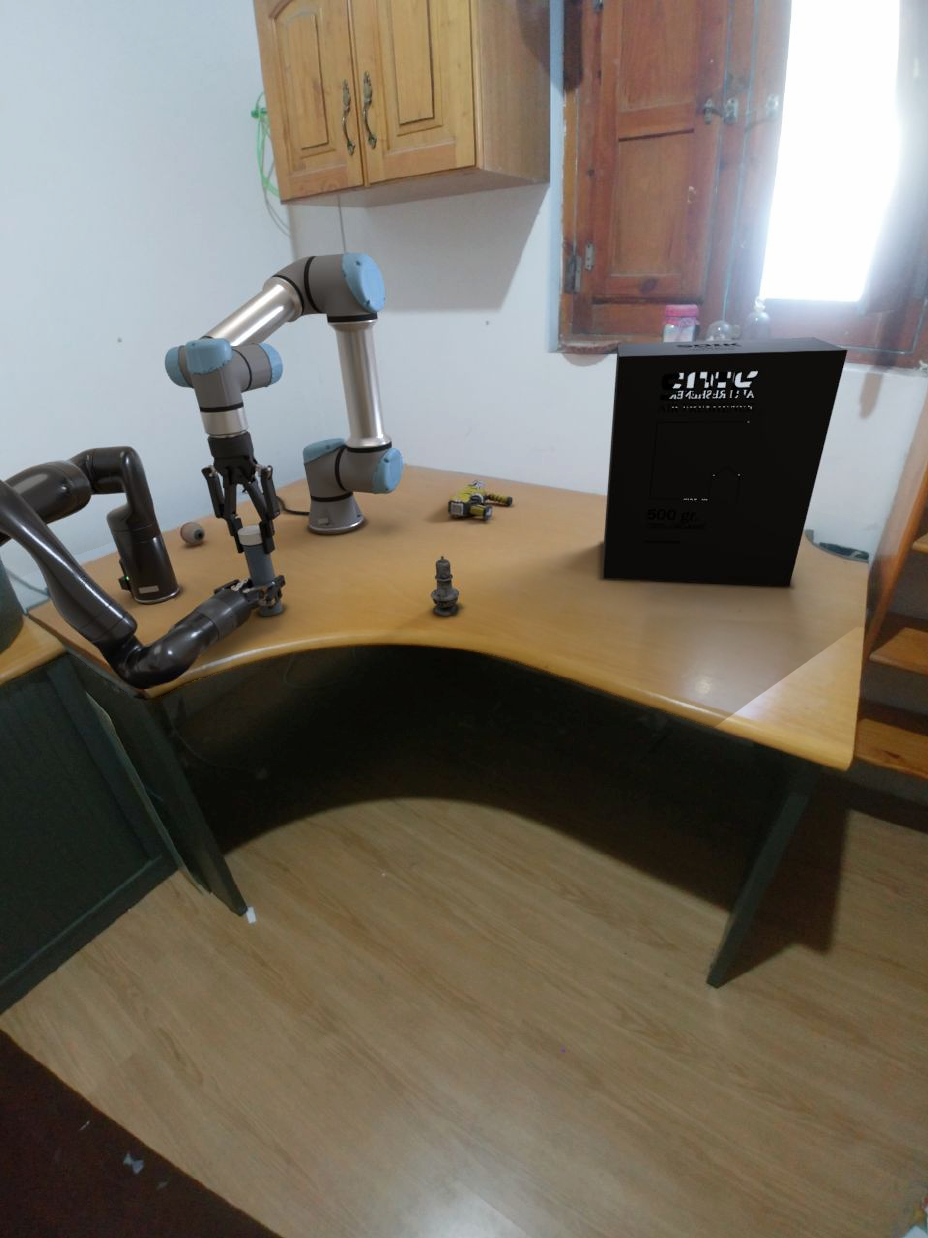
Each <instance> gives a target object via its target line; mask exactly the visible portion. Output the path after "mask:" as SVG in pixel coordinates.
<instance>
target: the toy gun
mask: <svg viewBox="0 0 928 1238" xmlns="http://www.w3.org/2000/svg"><path fill="white" fill-rule="evenodd" d="M485 485H486V483H485V480H480V481H479V479H475V480H474V481H472V483H470V484H467V486H465V487H464V488H463V489H462V490H461V491H459V492H458V493H456V494H455V495H454V496H453V497H452V498H451V499H450V500H448V502H447V513H448V514H449V515H451V516H452V517H456V518H458V517H467V516H472V515H473V516H479V517H482V520H484V521H486V520H487V519H489V518H491V517H492V516H493V515H492V514H493V505H492V504H488V505H486V503H485V502H486V501H488V500H489V501H490V502H494V503H496V502H497V503H499V504H504V505H507V506H508V507H509V506H512V505H513V502H514V501H513V500H514V498H513V497H512V496H508V495H507V496H506V495H502V494H498V493H494V492H490V493H489V494H487V492H486V490H485V488H483V487H484V486H485Z"/></svg>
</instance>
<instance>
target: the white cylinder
mask: <svg viewBox="0 0 928 1238" xmlns="http://www.w3.org/2000/svg"><path fill="white" fill-rule="evenodd" d="M238 536H239V540H240V543H241V544H243V545H256V544H260V543H262V542H263V541H262V537H261V533H260V529H259V524H253V525H247V526H243V528H241V529H240V530H239V531H238Z"/></svg>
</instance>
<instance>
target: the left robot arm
mask: <svg viewBox="0 0 928 1238" xmlns="http://www.w3.org/2000/svg"><path fill="white" fill-rule="evenodd" d="M116 494H117V495H118V494H125V499H126V502H125V503H124V504H122V505H120V506H117V507H115V508H113V509H112V510H110V511H109V512H108V513H107V514H106V516H105V518H106V523H107V526H108V528H109V531H110V533H111V537H112V539H113V542H114V544H115V547H116V549H117V553H118V556H119V559H118V564H119V567H120V569H121V572H122V576H121V577H119V578H117V580H118V581H117V582H118V583H119V586H120V589H121V590H123V591H128V592H129V593H130V596H131V599H133V600H135V602H136V603H138V604H141V605H142V604H143V605H152V604H158V603H163V602H166V601H168V600H170V599H172V598H174V597H175V596H177V595H178V594H179V593H180V591H181V588H180V585H179V583H178V580H177V577H176V574H175V571H174V568H173V567H174V566H173V565H172V561H171V558H170V555H169V552H168V549H167V547H166V542H165V540H164V537H163V534H162V531H161V528H160V525H159V522H158V519H157V516H156V512H155V505H154V500H153V497H152V494H151V490H150V487H149V483H148V479H147V474H146V470H145V467H144V464H143V462H142V459H141V457H140V455H139V453H138V452H137V450H135V448H133V447H132V446H129V445H118V446H104V447H92V448H89V449H88V448H87V449H85V450H83V451H81V452H79V453H77V454H76V455H74V456H72V457H70V458H68V459H65V460H60V459H59V460H53V461H48V462H43V463H39V464H36V465H33V466H29V467H27V468H24V469H23V470H21V471H19V472H18V473H15V474H13V475H12V476H10V477H8V478H7V479H5V480H2V479H1V478H0V548H2V547H3V546H4V545H6V544H7V543H8V542H10V541H11V540H14V541H15V542H16V543H18V544H19V546H21V547H22V548H23V549H24V550H25V551H26V552H27V553H28V554H29V555H30V556H31V558H32V559H33V560H34V562H35V564H36V565H37V567H38V569H39V570H40V573H41V575H42V577H43V579H44V582H45V584H46V588H47V590H48V593H49V596H50V599H51V601H52V604H53V605H54V607H55V608H54V609H56V611H57V613H58V614H59V616H60V617H61V618H62V620H63V621H64V622H65V623H66V624H68V625H69V626H70V627H71V628H72V629H73V630H74V631H75V632H76V633H78V634H79V635H81V636H82V637H83V638H84V639H85V640H86V641H88V642H89V644H91V645H92V646H94V647H95V648H96V649H98V651H99V653H100V655H101V656H102V657H103V659H104V660H105V661H106V663H107V664H108V665H109V666H110V668H111V669H112V670H113V672H114V673H115V674H116V676H117V677H118V678H119V679H120V680H121V681H123V683H125V684H127V685H128V686H130V687H132V688H134V689H137V690H143V691H144V690H145V691H146V690H151V689H154V688H157V687H160V686H162V685H165V684H168V683H171V682H173V681H175V680H177V679H178V678H180V677H181V676H183V675H184V674H186V672H187V671H188V670H189V669H190V668H191V667H192V666H193V665H194V664H195V663H196V662H197V660H198V659H199V657H200V656H202V655H203V654H205V653H206V652H207V651H209V650H210V649H211V648H213V647H214V646H215V645H216V644H218V643H219V642H222V641H223V640H225V639H226V638H227V637H229V636H230V635H231V634H232V633H234V632H235V631H236V630H238V629H239V628H240V627H241V626H243V625H244V624H245V623H246V622H247V621H249V619H250V617H251V614H252V612H253V611H254V610H257V609H258V608H259V607H260V606H267V607H268V609H273V608H274V607H275V606H276V604H277V603H278V602H279V600H280V599H281V600H282V598H283V591H282V588H283V587H285V586H286V585H287V583H286V579H285V575H284V574H279V575H278V576H275V577H276V578H275V579H274V580H272V581H271V582H270V583H268V584H266V585H261V584H260V585H258V586H256V587H253V586H252V582H251V578H250V577H248V578H244V579H243V578H242V580H240V579H237V578H236V579H233V580H231V581H229V582H226V583H225V584H223V585H221V586H219V587H217V588H215V589H213V590H212V591H213V595H212V596H211V597H209V598H208V599H206V600H205V601H204V602H201V603H200V604H199V605H197V606H196V607H195V608H194V609H193V610H192V611H191V612H190V613H188V614H187V615H186V616H185V617H183V618H181V619H180V620H178V621H177V622H175V623H174V624H173V625H172V626H171V627H170V628H169V629H168V631H167V633H165V634H164V635H162V636H161V637H159V638H158V639H156V640H154V641H152V642H150V643H148V644H146V645H145V644H143V643H142V642H141V641H140V640H139V638H138V636H137V635H135V634H136V632H137V630H138V625H139V623H138V622H137V620H136V618H134V616H133V615H131V614H130V612H128V610H126V609H125V608H124V607H123V606H122V605H121V604H120V603H119V602H118V601H116V600H115V599H114V598H113V597H112V596H111V595H109V594H108V592H107V591H105V589H103V588H102V587H101V586H100V585H99V584H98V583H97V582H96V581H95V580H94V579H93V578H92V577H91V575H89V573H87V571H86V570H85V569H84V568H83V567H82V566H81V564H80V563H79V562H78V561H77V560H76V559H75V557H74V556H73V554H71V552H70V551H69V550H68V548H67V547H66V546H65V545H64V544H63V543H62V541H61V539H59V538H58V536H57V535H56V534H55V533H54V532H53V530H52V529H51V528H50V527H49V526H48V525H50V524H52V523H55V522H58V521H61V520H63V519H65V518H68V517H70V516H72V515H74V514H77V513H78V512H80V511H82V510H83V509H85V508H86V507H87V506H88V505H89V504H90V501H91V499H92V496H98V495H99V496H101V495H116ZM233 586H234V587H233ZM232 587H233V588H232ZM268 588H269V589H270V592H269V593H267V591H266V590H267V589H268ZM259 590H260V592H259ZM260 593H261V596H260Z"/></svg>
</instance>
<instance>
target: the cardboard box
mask: <svg viewBox="0 0 928 1238" xmlns="http://www.w3.org/2000/svg"><path fill="white" fill-rule="evenodd" d="M848 351H849V350H848V349H847V348H844V347H841V346H838V345H836V344H833V343H830V342H828V341H824V340H822V339H819V338H816V337H813V336H812V337H809V336H808V337H787V338H786V337H785V338H784V337H783V338H753V339H752V338H750V339H749V338H748V339H721V340H719V339H717V340H691V341H690V340H688V341H660V342H631V343H630V342H629V343H628V342H627V343H625V342H624V343H617V348H616V361H615V362H616V363H615V376H614V377H615V378H614V379H615V380H614V391H613V404H612V405H613V406H612V408H613V409H612V418H611V419H612V421H611V434H610V435H611V437H610V449H609V462H608V463H609V464H608V476H607V477H608V478H607V489H606V490H607V492H606V504H605V506H606V507H605V521H604V533H603V534H604V535H603V559H602V560H603V561H602V562H603V566H602V573H603V574H602V579H606V580H612V579H613V580H630V581H631V580H632V581H650V582H651V581H655V582H677V583H697V584H698V583H699V584H720V585H721V584H722V585H723V584H724V585H742V586H767V587H768V586H769V587H787V588H789V587H790V586H791V582H792V578H793V573H794V569H795V566H796V562H797V558H798V557H797V556H798V554H799V550H800V546H801V541H802V538H803V534H804V529H805V525H806V521H807V517H808V514H809V509H810V505H811V501H812V497H813V493H814V488H815V485H816V480H817V476H818V472H819V468H820V464H821V461H822V456H823V452H824V447H825V444H826V440H827V436H828V431H829V428H830V423H831V419H832V415H833V411H834V408H835V403H836V399H837V395H838V391H839V387H840V382H841V379H842V375H843V371H844V367H845V363H846V359H847V354H848ZM753 372H757V373H756V375H754V376H751V377H749V376H750V375H751V373H753ZM702 373H706V377H701V375H702ZM717 373H718V374H717ZM729 373H730V375H729ZM681 374H682V376H683V377H682V378H681ZM692 374H694V378H693V384H692V385H693V386H692V387H688V382H689V377H690V376H691V375H692ZM739 374H740V380H739V383H740V384H741V383H742V384H743V383H750V384H748V386H737V385H736V378H737V376H738V375H739ZM723 383H725V385H724V387H719V384H723ZM706 384H708V385H707V387H706ZM675 385H680V386H679V387H675Z"/></svg>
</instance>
